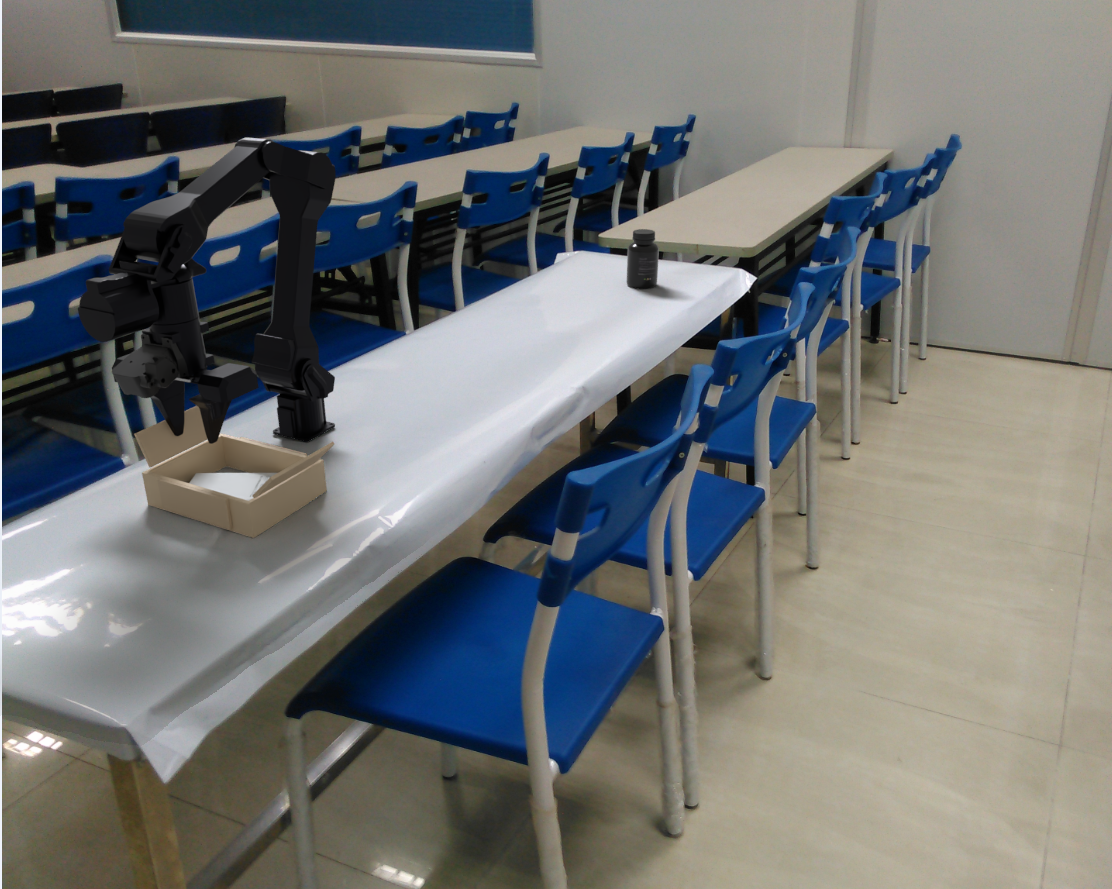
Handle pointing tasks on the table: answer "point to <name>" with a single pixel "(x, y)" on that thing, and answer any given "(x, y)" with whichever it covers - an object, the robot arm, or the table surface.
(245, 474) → the external hard drive
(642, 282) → the supplement bottle
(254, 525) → the carton
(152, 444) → the flap
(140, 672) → the table surface
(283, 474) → the flap
